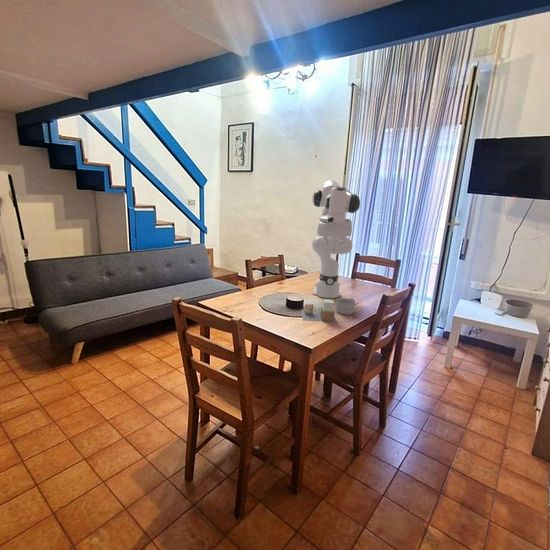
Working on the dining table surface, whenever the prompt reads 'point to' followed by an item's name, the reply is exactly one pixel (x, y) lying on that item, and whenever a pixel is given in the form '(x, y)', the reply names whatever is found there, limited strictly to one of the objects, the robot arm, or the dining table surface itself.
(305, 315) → the slate board
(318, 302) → the dining table surface
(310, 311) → the beech cylinder
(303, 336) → the dining table surface
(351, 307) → the teacup
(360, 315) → the dining table surface
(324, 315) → the walnut base block
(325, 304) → the sage top block
